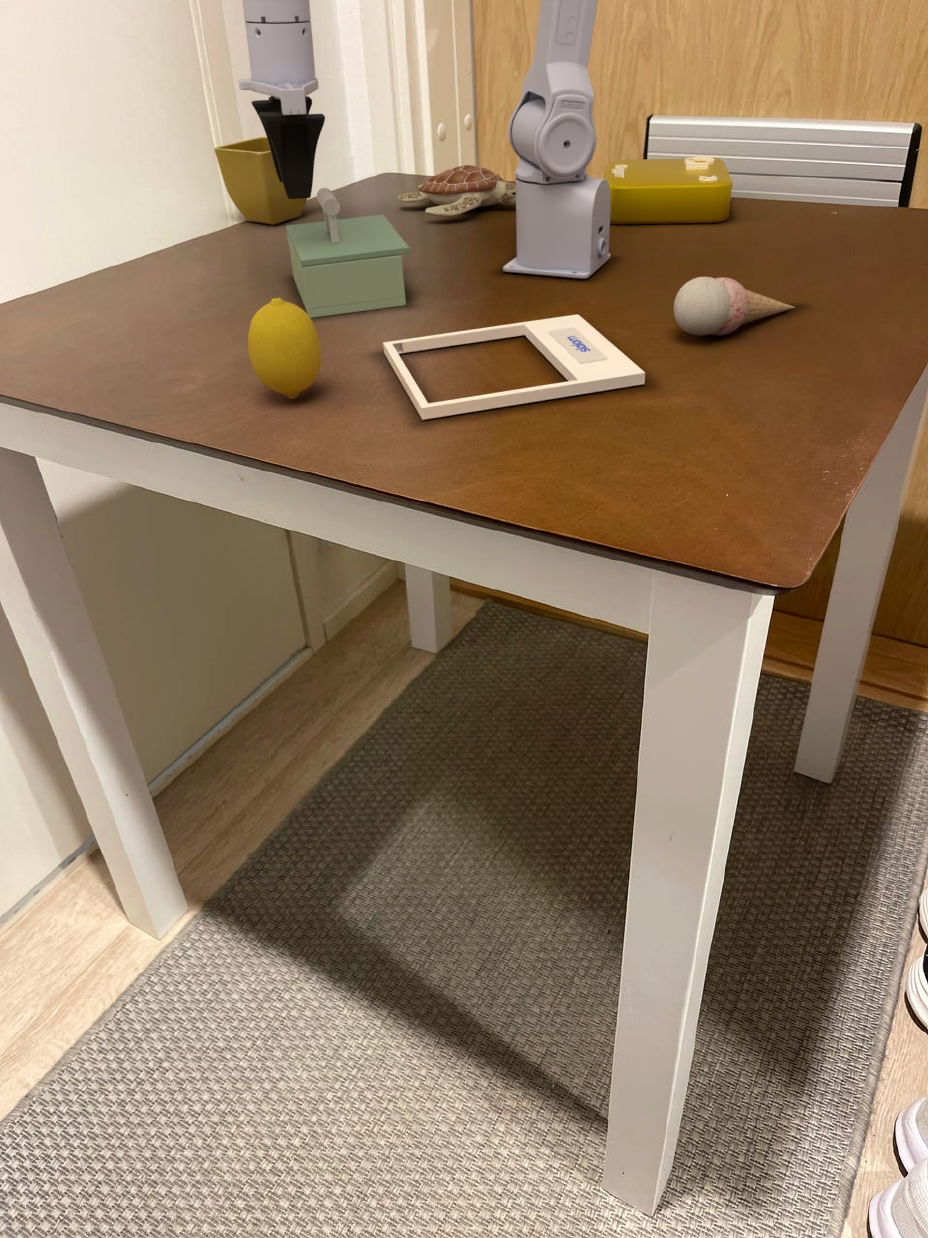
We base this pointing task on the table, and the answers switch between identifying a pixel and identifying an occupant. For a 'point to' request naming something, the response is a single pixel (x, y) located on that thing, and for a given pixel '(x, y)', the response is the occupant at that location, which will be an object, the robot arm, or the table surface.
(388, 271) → the cool box
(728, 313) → the ice cream cone
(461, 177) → the decorative turtle
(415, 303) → the table surface
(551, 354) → the photo frame
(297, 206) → the flower pot
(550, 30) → the robot arm
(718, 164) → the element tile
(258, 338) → the lemon
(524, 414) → the table surface
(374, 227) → the cool box lid
